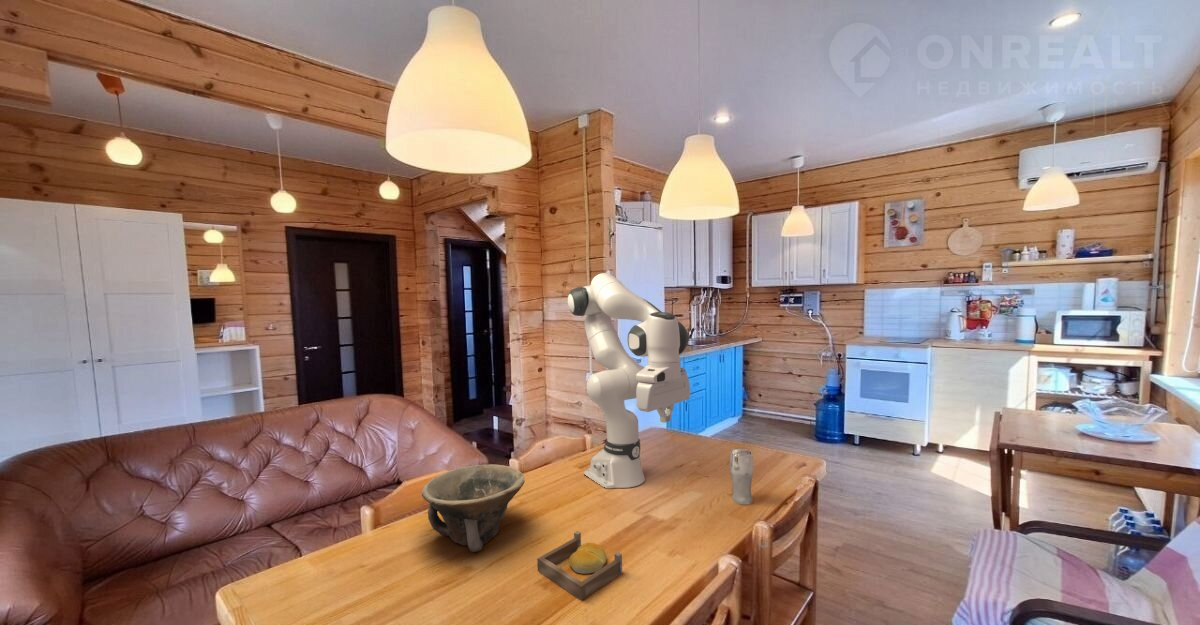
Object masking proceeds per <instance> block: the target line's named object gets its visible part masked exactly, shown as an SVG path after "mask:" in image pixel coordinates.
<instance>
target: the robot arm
mask: <svg viewBox="0 0 1200 625" xmlns="http://www.w3.org/2000/svg"><path fill="white" fill-rule="evenodd" d="M567 306H568V308H569V311H570V312H571V314H572V315H573V316H576V317H584V316H586V317H585V319H584V330H585V334H586V339H587V341H588V345H589V347H590V350H591V352H592V355H593V357H594V360H595V361H596V363H597V364H598V365H600V366H602V367H605V368H606V369H607V370H602V371H598V372H596V373H593V374H591V375H590V376H589V377H588V379H587V381H586V387H585V389H586V393H587V396H588V398H590V400H591V401H592V402H594V403H595V404H597V405H598V407H600V409H601V411H602V412H603V416H604V419H605V424H606V427H605V428H606V438H605V439H603V440H602V442H601V444H602V445H603V444H604V446H603V448H602V449H601V450H600V451H599V452H597V453H596V454H595V455H593V457H592V458H591V460H590V464H589V465H590V467H588V468H587V469H586V470H585V471H584V472H583V475H584V474H585V475H586V476H588V477H589V478H591V479H592V480H594V481H595V482H594V481H593V482H594V483H596V482H597V483H598V485H599V484H600V485H599V486H601V487H603V488H604V487H605V489H614V488H617V489H618V488H619V489H623V488H625V489H627V488H633V487H637V486H639V485H642V484H643V483H644V482H645V475H644V472H643V471H644V470H643V466H642V459H641V455H640V454H641V439H640V438H639V437H640V436H639V434H640V432H639V419H638V416H637V415H636V414H635V413H634V412H632V411H631V410H629V409H627V408H626V405H625V401H627V400H634V399H636V407H637V409H638V410H639V411H641V412H646V413H649V412H653V411H657V413H658V415H659V421H660V423H663V424H665V423H667V422H670V421H672V414H673V411H674V409H675V404H679V403H680V402H681V403H682V402H684V401H687V400H690V398H691V386H690V385H691V384H690V379H689V376H688V372H687V370H686V369H685V368H684V367H682V366H681V357H680V355H682V353H683V352H684V351H685V350H686V348H687V346H688V344H689V341H690V340H689V338H690V337H689V333H688V330H687V328H686V327H685V326H684V325H683V323H681V322H680V321H678V319H677V316H676V315H675V314H673V313H670V312H663V311H661V310H660V309H659V308H658V307H656V306H655V305H654V304H653V303H652V302H649V301H648V300H647V299H645V298H643V297H642V296H639V295H638V294H636V293H635V292H633V291H631V290H630V289H629V288H627V287H626V286H625V284H624V283H623V282H621V280H619V279H618V278H617V277H615V276H614V275H612V274H610V273H606V272H602V273H599V274H597V275H595V276H594V277H593V278H592V280H591V282H590V284H589V285H585V286H578V287H575V288H573V289H571V290H570V291H569V292H568V294H567ZM612 319H615V320H616V319H617V320H630V321H638V322H641V323H639V324H634V325H633V326H632V327H631V328H630V329H629V331H628V334H627V346H628V349H629V350H630V352H631V353H632V354H633V355H634V356H636V357H647V358H648V359H647V365H645V366H643V365H641V364H640V363H638V362H637V361H635V359H634V358H632V356H630V354H629V353H628V352H627V351H626V349H625V348H624V345H623V343H622V341H621V340H620V337H619V335H618V332H617V331H616V330H617V329H616V328H615V326H614V324H613V322H612ZM586 476H585V477H586ZM589 478H588V479H589ZM591 479H590V480H591ZM592 480H591V481H592ZM597 483H596V484H597Z"/></svg>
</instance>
